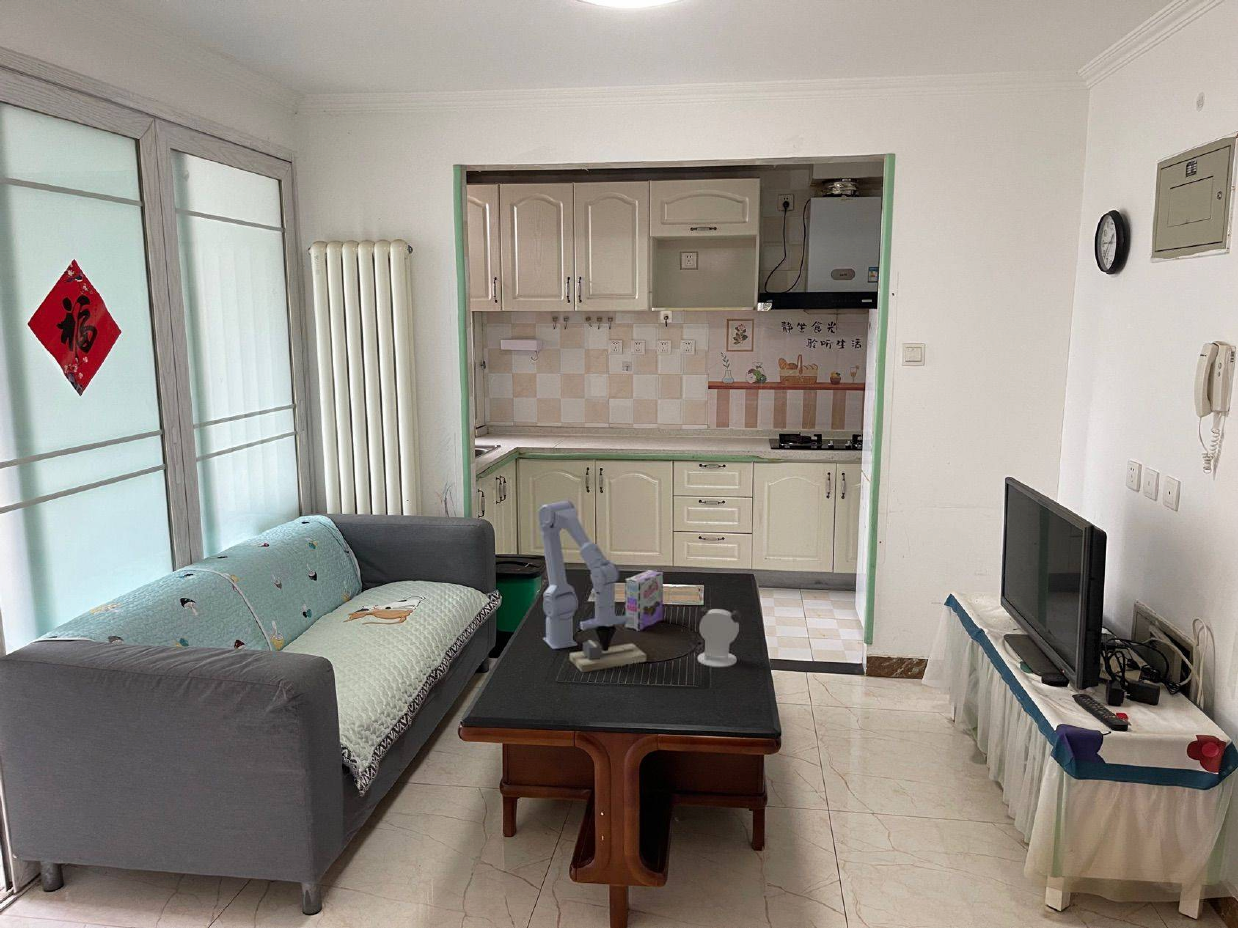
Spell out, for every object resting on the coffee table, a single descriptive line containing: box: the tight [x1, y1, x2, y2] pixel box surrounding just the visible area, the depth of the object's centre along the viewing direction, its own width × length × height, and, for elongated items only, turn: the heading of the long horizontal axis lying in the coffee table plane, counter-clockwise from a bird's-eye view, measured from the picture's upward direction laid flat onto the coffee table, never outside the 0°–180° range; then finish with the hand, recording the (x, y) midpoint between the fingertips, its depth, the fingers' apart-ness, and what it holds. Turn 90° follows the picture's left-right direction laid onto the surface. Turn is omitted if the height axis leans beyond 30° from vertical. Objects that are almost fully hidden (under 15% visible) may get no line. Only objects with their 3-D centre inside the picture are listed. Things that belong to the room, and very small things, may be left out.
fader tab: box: [582, 639, 602, 659], centre depth 254 cm, size 5×4×4 cm
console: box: [569, 643, 647, 673], centre depth 256 cm, size 10×20×2 cm, turn 114°
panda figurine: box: [697, 606, 742, 668], centre depth 256 cm, size 12×11×15 cm
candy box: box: [624, 569, 664, 632], centre depth 286 cm, size 14×6×16 cm, turn 143°
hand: (604, 649), depth 255 cm, fingers closed
